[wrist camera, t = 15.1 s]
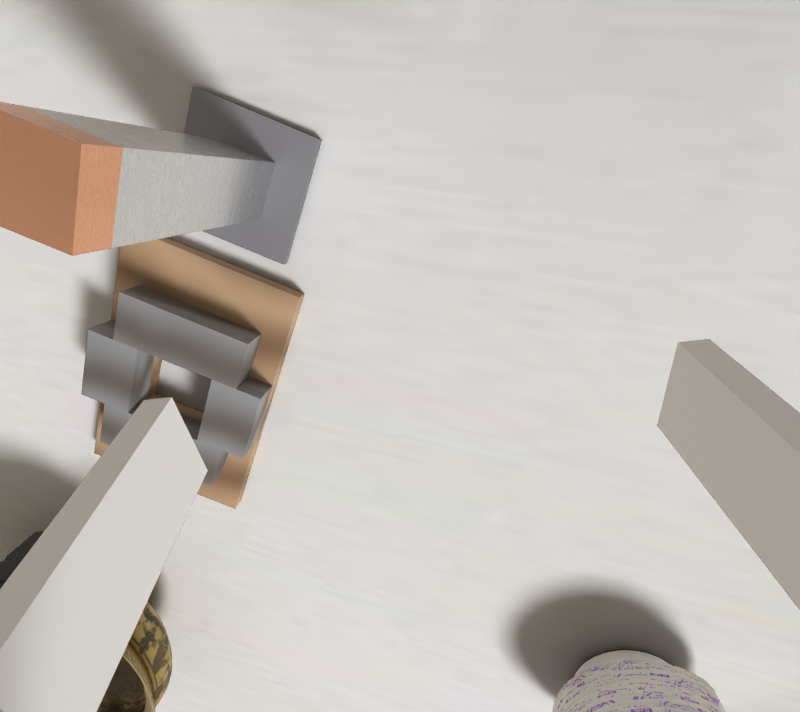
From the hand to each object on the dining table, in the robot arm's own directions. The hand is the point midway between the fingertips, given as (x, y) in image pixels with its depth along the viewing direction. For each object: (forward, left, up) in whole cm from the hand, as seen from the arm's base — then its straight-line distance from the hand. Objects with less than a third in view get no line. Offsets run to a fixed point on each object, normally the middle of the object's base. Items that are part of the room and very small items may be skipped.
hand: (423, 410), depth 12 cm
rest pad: (-4, -15, -22) cm, 27 cm away
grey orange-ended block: (-4, -15, -21) cm, 26 cm away
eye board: (+12, -20, -22) cm, 32 cm away
